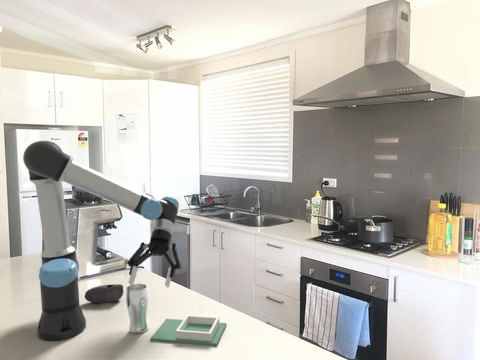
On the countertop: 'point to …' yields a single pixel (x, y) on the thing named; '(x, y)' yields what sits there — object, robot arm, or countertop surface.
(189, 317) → the green board with frame
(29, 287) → the countertop surface
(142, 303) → the beer glass
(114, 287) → the perforated stone tool
